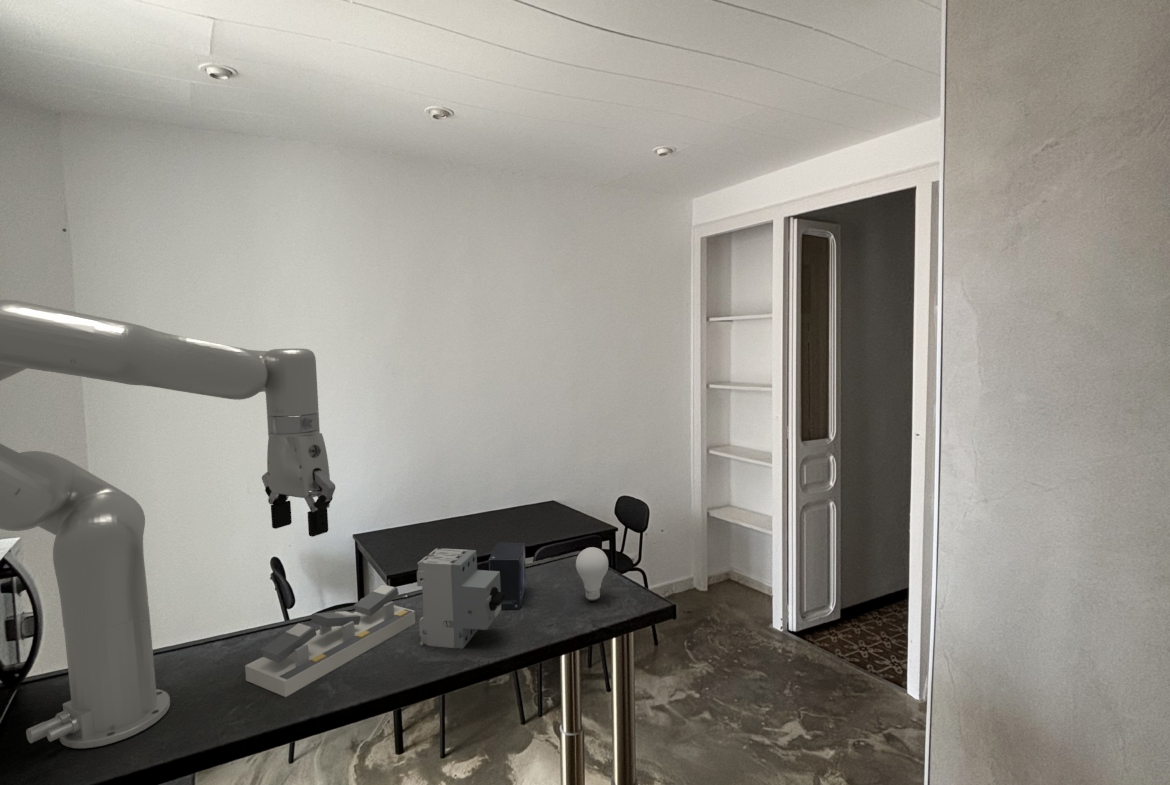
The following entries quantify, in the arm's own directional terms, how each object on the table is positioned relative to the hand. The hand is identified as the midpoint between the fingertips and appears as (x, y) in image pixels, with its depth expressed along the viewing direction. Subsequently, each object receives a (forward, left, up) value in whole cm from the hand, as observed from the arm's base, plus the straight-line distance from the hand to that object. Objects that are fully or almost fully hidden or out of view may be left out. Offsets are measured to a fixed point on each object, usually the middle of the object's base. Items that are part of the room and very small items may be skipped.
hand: (300, 529), depth 99 cm
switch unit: (+6, 0, -23) cm, 24 cm away
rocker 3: (+15, 0, -18) cm, 23 cm away
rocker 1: (-3, 0, -18) cm, 18 cm away
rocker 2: (+6, 0, -18) cm, 19 cm away
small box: (+36, -14, -23) cm, 46 cm away
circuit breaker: (+19, -17, -23) cm, 35 cm away
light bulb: (+43, -30, -23) cm, 58 cm away
